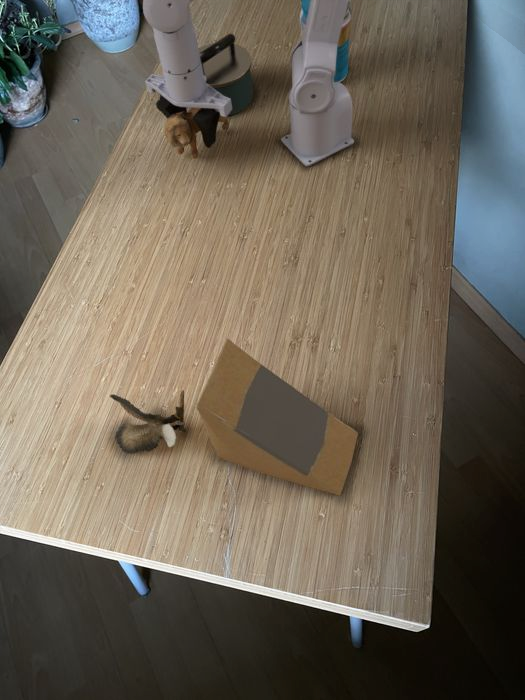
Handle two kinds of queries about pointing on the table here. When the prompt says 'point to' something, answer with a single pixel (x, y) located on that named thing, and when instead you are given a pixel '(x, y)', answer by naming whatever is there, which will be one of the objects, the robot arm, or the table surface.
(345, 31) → the beverage bottle
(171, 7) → the robot arm
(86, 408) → the table surface
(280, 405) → the sandwich container
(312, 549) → the table surface
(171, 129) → the lion figurine
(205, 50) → the green lidded pot
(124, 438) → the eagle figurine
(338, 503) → the table surface
